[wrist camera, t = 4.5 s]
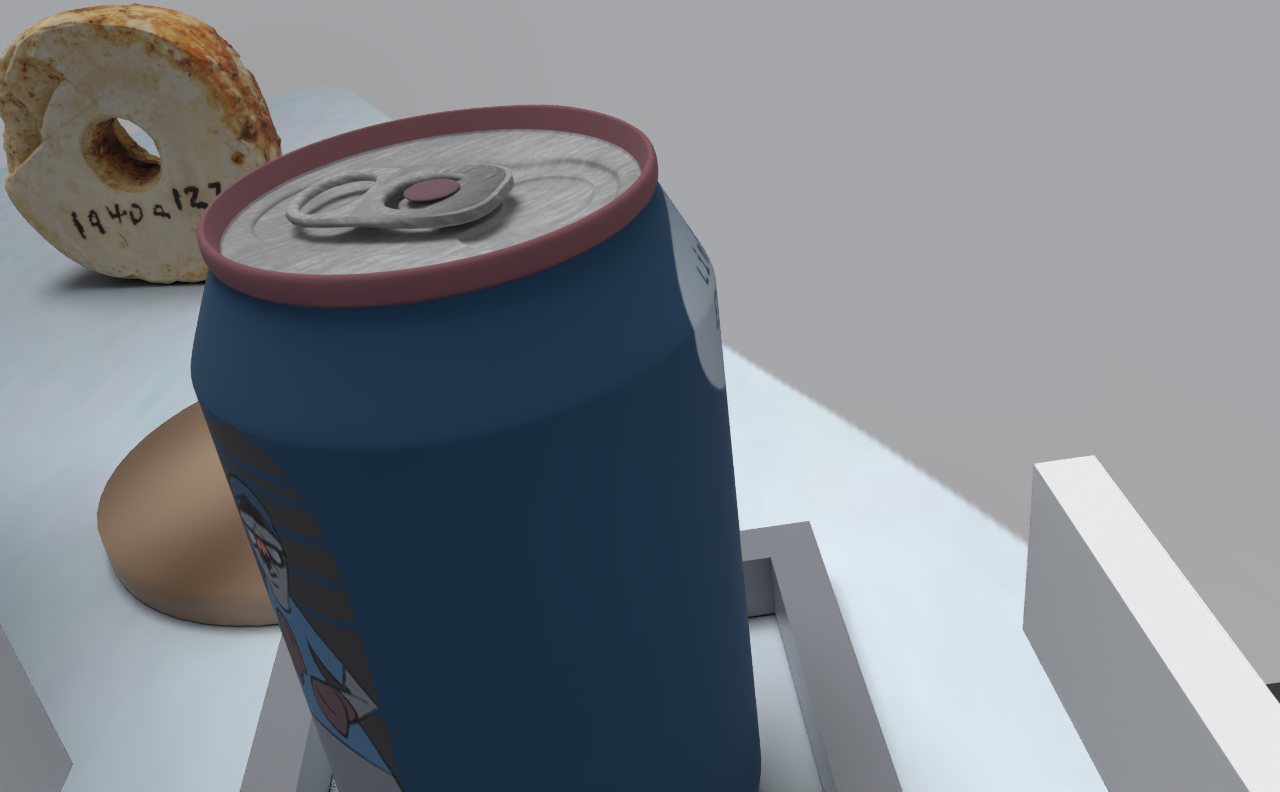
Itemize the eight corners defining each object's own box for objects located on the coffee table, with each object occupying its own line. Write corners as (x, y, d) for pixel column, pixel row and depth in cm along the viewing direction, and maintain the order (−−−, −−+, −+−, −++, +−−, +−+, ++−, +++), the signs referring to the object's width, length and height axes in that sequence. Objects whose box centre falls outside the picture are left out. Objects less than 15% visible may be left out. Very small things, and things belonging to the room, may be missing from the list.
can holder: (181, 1203, 16) (144, 1145, 15) (310, 648, 25) (292, 595, 25) (978, 1084, 16) (981, 1020, 15) (812, 575, 26) (809, 520, 25)
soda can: (790, 693, 23) (746, 80, 17) (728, 1041, 17) (627, 304, 11) (459, 663, 25) (310, 100, 18) (303, 969, 19) (13, 302, 13)
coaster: (18, 617, 28) (2, 584, 27) (236, 379, 37) (226, 351, 36) (460, 634, 25) (450, 599, 25) (574, 375, 34) (570, 345, 34)
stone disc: (330, 244, 46) (257, -21, 41) (288, 287, 43) (205, 6, 38) (96, 253, 48) (0, 2, 43) (40, 293, 45) (-71, 29, 40)
